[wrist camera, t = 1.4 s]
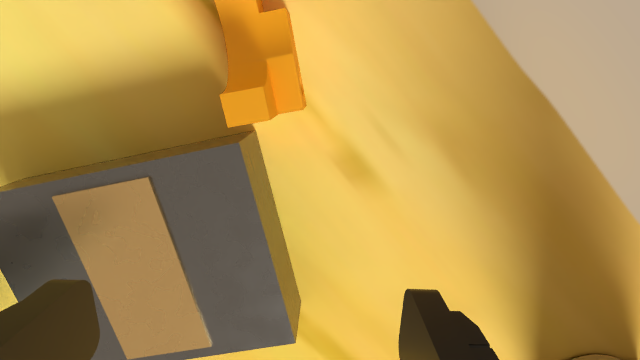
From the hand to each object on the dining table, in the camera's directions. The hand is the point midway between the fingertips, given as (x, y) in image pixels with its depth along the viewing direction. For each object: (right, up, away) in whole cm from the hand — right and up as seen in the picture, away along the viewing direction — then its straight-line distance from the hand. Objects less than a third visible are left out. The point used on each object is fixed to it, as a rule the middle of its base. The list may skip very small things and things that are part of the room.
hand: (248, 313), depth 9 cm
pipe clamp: (-2, +15, +16) cm, 22 cm away
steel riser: (-11, -2, +21) cm, 24 cm away
